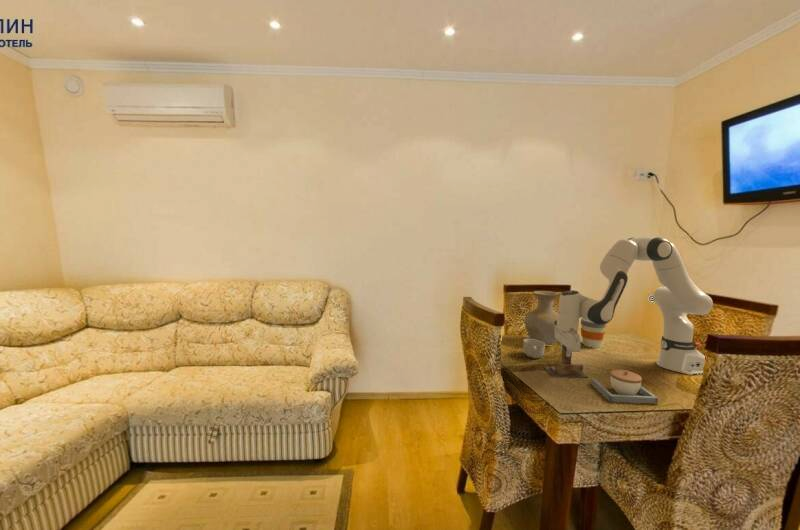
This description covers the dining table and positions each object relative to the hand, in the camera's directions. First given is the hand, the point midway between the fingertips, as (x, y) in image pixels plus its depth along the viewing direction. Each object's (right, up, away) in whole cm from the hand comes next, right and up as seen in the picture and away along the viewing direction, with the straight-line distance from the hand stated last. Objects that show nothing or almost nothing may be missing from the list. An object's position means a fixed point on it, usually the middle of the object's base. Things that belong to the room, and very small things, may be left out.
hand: (565, 354), depth 155 cm
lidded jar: (+15, -11, -18) cm, 26 cm away
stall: (+14, -11, -19) cm, 26 cm away
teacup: (-8, -7, +19) cm, 22 cm away
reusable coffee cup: (+34, -5, +38) cm, 51 cm away
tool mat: (0, -9, +1) cm, 9 cm away
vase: (+8, -5, +43) cm, 43 cm away
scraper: (0, -8, +1) cm, 8 cm away
